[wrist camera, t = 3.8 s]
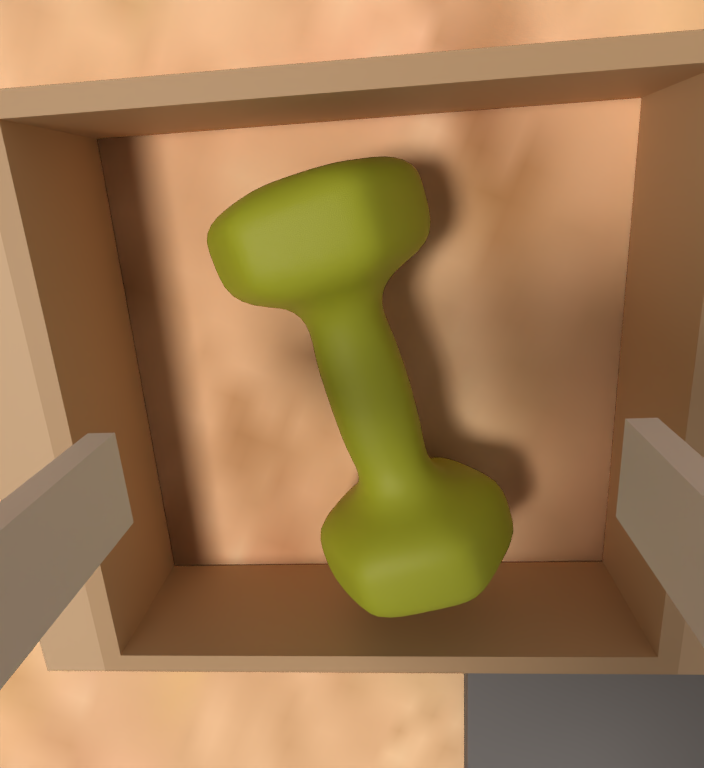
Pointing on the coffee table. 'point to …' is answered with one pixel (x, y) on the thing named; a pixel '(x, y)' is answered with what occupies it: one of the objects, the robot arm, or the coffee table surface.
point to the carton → (127, 406)
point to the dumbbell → (367, 380)
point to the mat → (583, 720)
